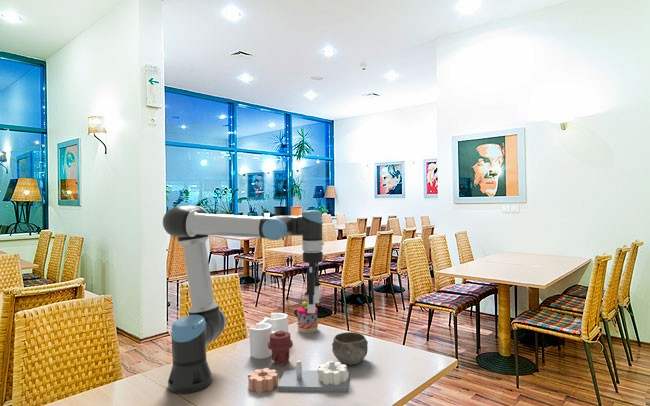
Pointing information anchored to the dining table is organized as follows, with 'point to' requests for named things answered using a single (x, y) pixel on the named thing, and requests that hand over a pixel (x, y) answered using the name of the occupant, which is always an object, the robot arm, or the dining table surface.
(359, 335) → the bowl
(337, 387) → the gear board
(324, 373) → the gear
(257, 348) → the white joined open cylinders
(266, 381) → the gear
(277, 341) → the mechanical component
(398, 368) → the dining table surface
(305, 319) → the cake
